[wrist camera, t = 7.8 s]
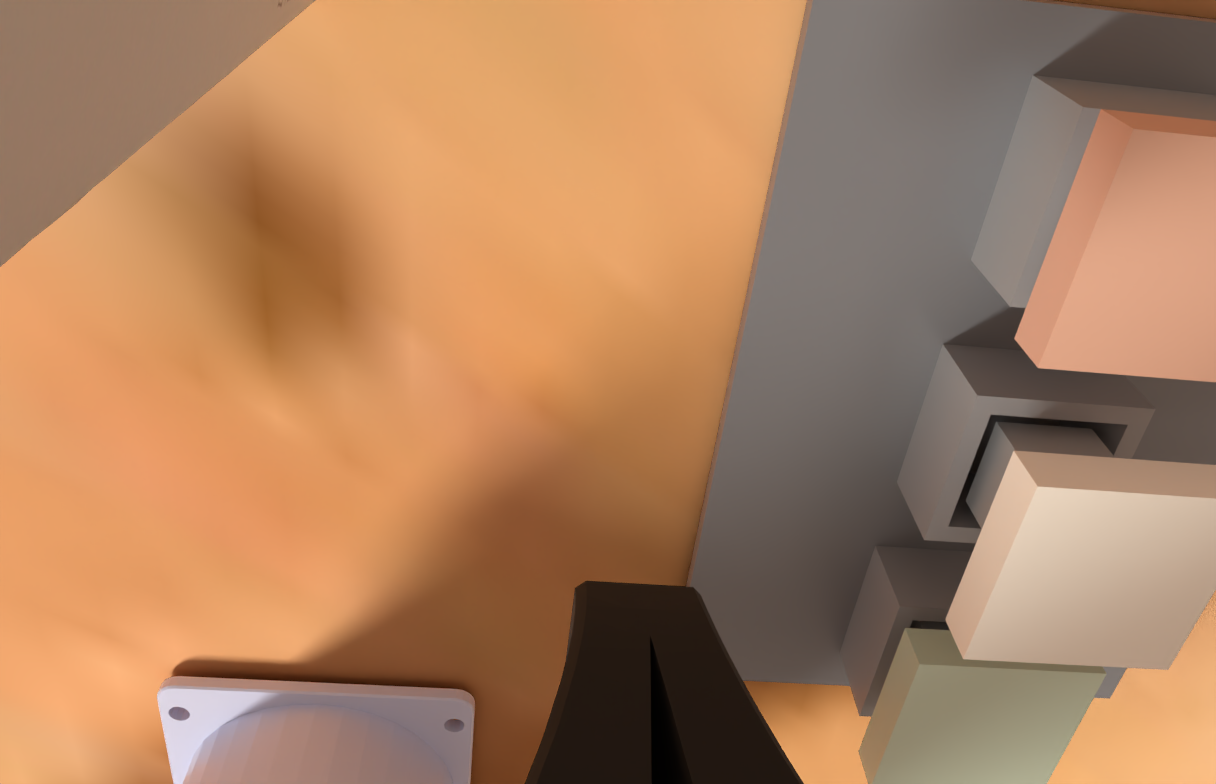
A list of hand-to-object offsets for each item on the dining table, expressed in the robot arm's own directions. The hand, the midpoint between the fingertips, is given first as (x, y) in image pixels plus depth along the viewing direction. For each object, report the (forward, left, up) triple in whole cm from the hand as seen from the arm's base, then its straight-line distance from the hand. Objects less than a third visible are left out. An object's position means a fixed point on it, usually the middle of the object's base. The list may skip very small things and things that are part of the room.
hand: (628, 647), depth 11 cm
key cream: (-3, -9, -8) cm, 12 cm away
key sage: (-8, -9, -9) cm, 15 cm away
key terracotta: (+3, -9, -9) cm, 13 cm away
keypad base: (-3, -9, -10) cm, 14 cm away
